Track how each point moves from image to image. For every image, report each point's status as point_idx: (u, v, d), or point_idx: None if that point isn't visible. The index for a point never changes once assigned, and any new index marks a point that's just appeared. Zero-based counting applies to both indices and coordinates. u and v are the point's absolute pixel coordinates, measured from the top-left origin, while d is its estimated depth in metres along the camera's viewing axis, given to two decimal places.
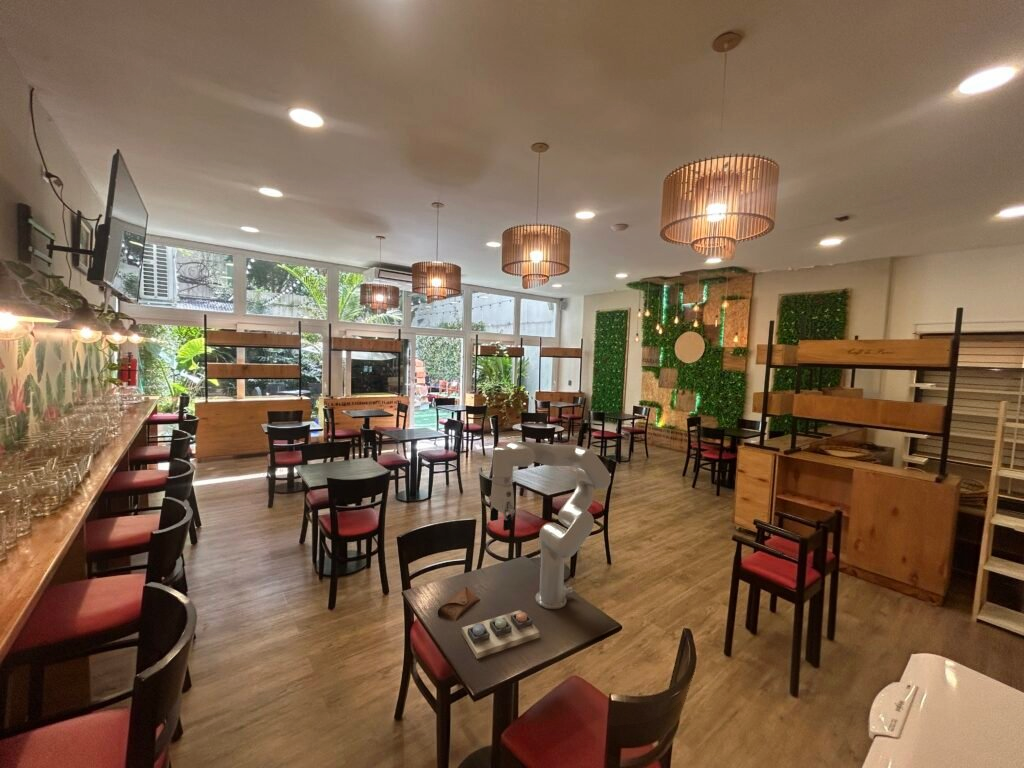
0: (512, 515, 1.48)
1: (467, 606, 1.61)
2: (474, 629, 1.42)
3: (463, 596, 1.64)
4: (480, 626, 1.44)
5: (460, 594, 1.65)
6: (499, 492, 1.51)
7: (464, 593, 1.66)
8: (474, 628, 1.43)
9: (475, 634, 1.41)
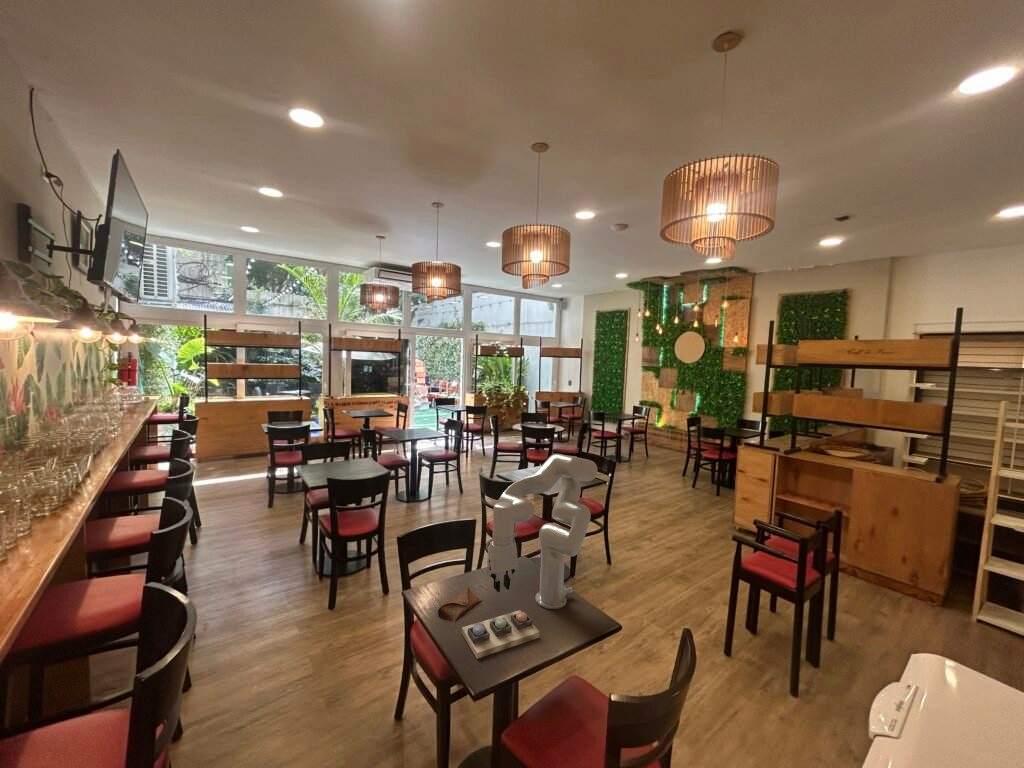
0: None
1: (468, 607, 1.61)
2: (474, 629, 1.42)
3: (464, 597, 1.64)
4: (480, 626, 1.44)
5: (461, 595, 1.65)
6: (511, 550, 1.44)
7: (466, 594, 1.66)
8: (474, 628, 1.43)
9: (475, 634, 1.41)
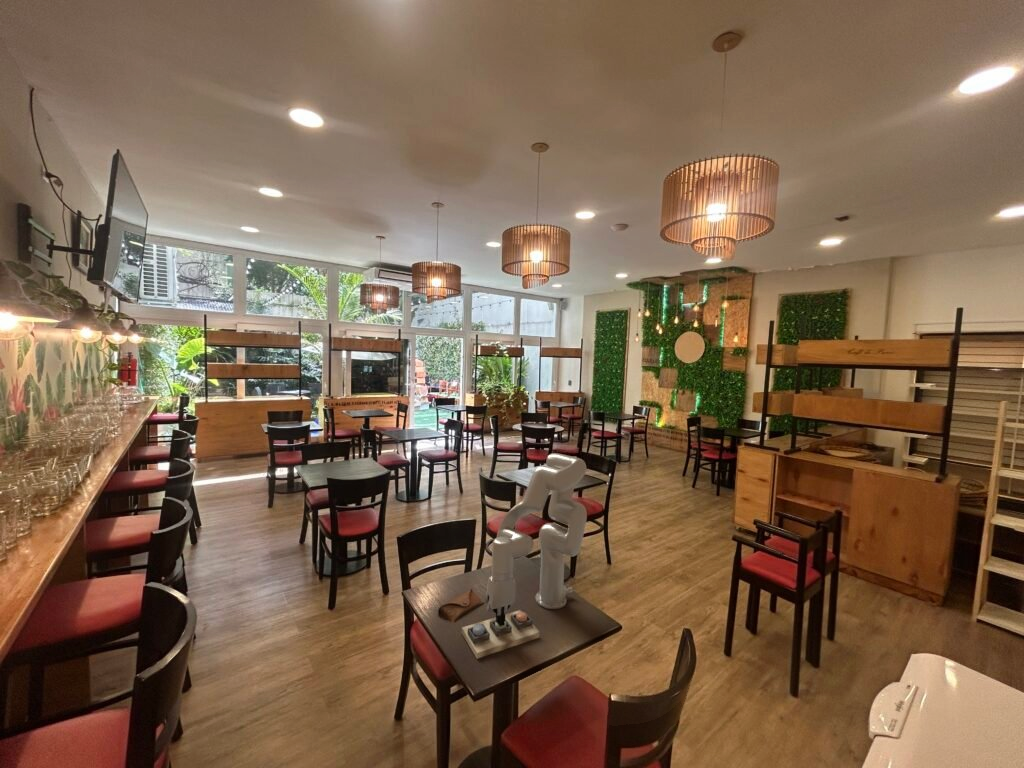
0: None
1: (468, 608, 1.60)
2: (474, 629, 1.42)
3: (465, 598, 1.63)
4: (480, 626, 1.44)
5: (463, 595, 1.64)
6: (510, 585, 1.45)
7: (467, 595, 1.65)
8: (474, 628, 1.43)
9: (475, 634, 1.41)
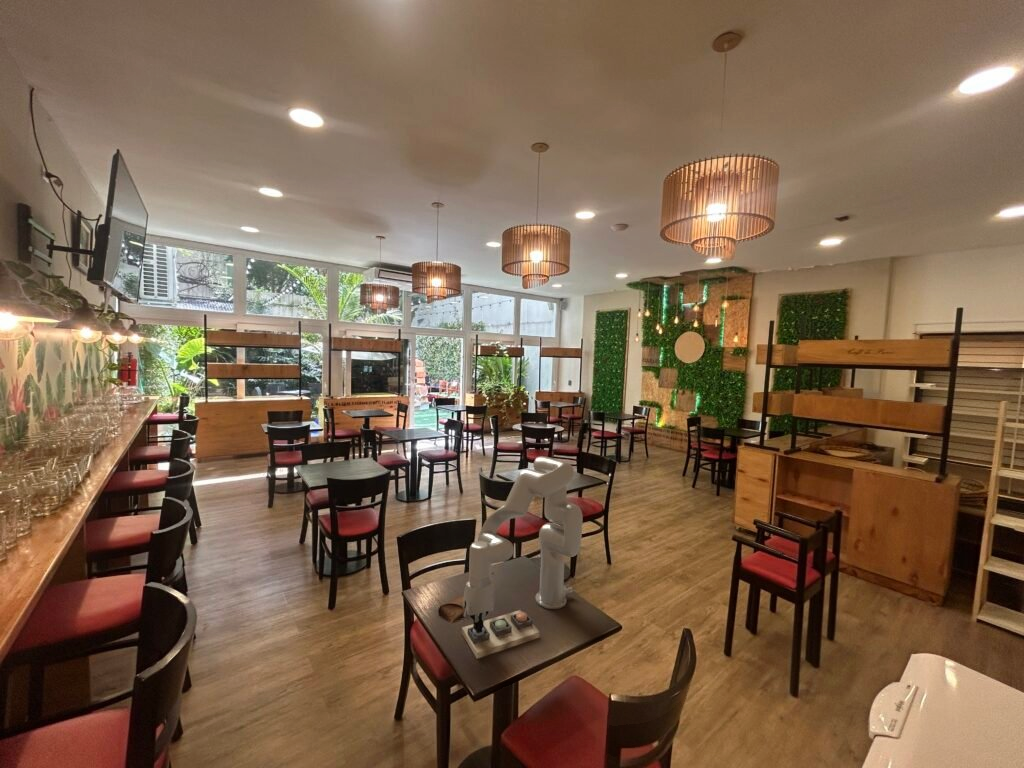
0: None
1: None
2: (474, 630, 1.42)
3: None
4: None
5: None
6: (488, 591, 1.41)
7: None
8: None
9: (475, 635, 1.41)
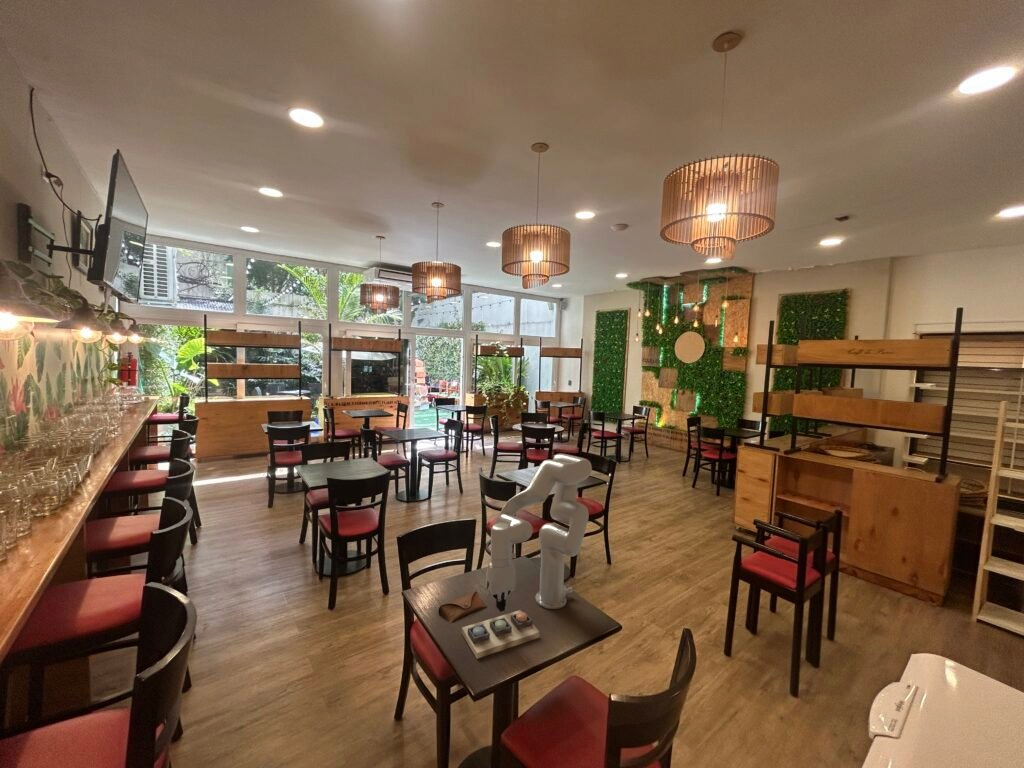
0: None
1: (469, 611, 1.58)
2: (474, 631, 1.42)
3: (467, 600, 1.62)
4: (480, 628, 1.44)
5: (466, 597, 1.63)
6: (510, 571, 1.44)
7: (470, 597, 1.63)
8: (474, 630, 1.43)
9: (475, 636, 1.41)
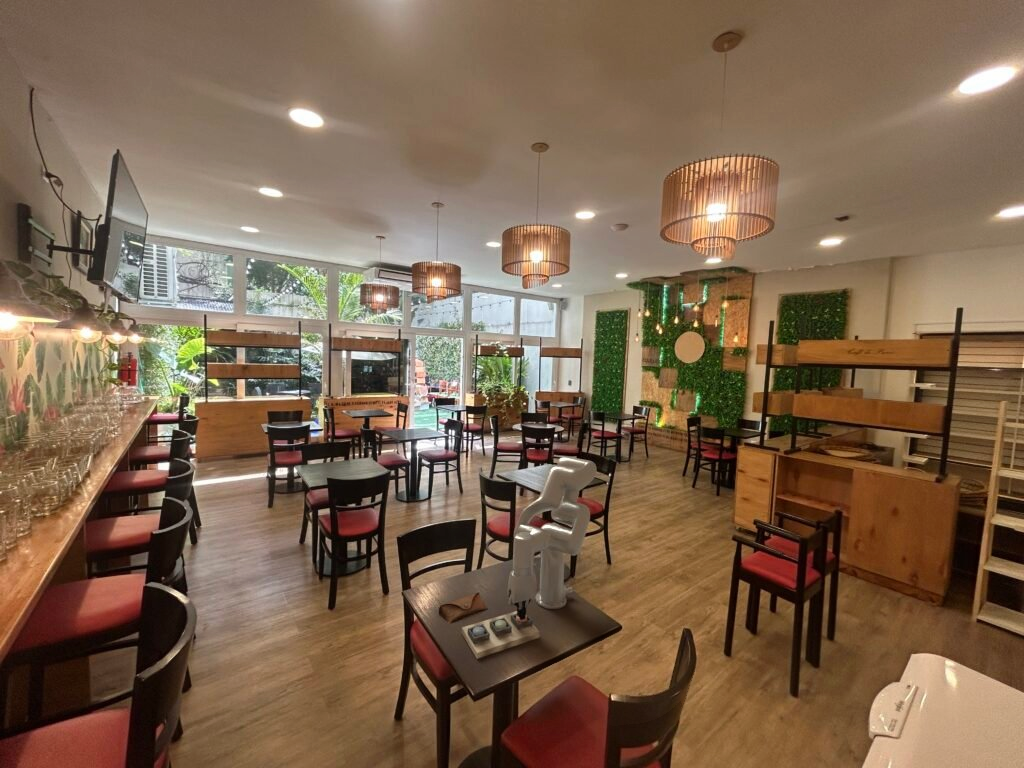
0: None
1: (468, 612, 1.58)
2: (474, 631, 1.42)
3: (468, 601, 1.61)
4: (480, 628, 1.44)
5: (467, 598, 1.63)
6: (531, 580, 1.49)
7: (471, 598, 1.63)
8: (474, 630, 1.43)
9: (475, 636, 1.41)
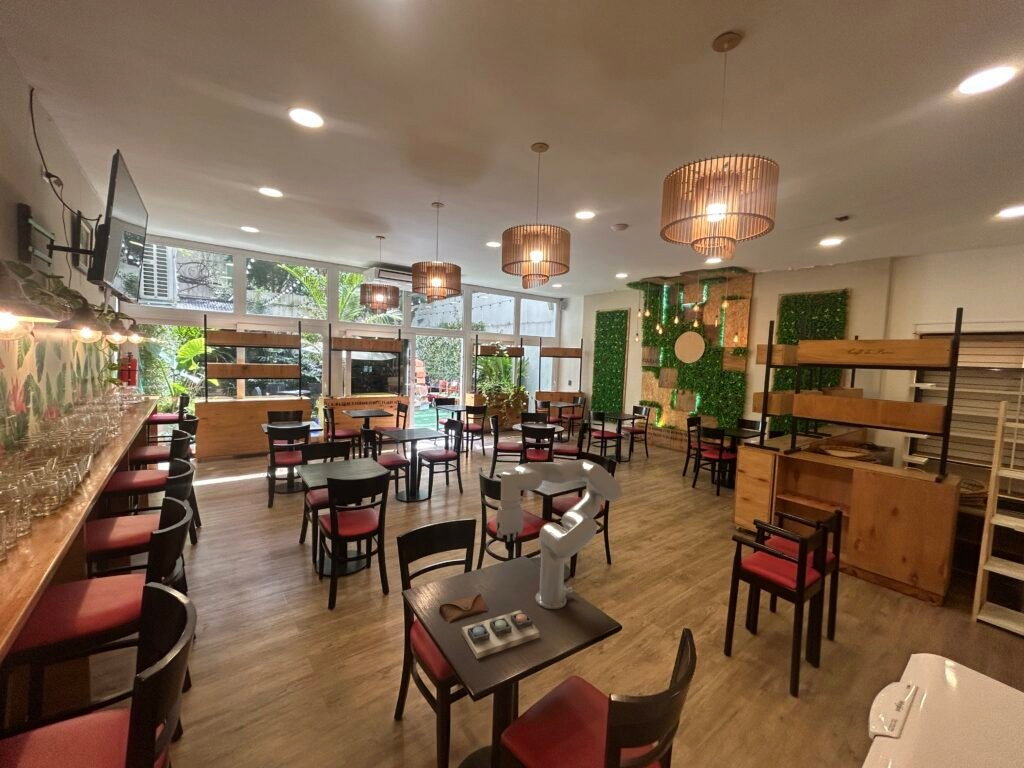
0: None
1: (468, 613, 1.57)
2: (474, 631, 1.42)
3: (468, 602, 1.60)
4: (480, 628, 1.44)
5: (468, 599, 1.62)
6: (518, 513, 1.57)
7: (472, 599, 1.62)
8: (474, 630, 1.43)
9: (475, 636, 1.41)
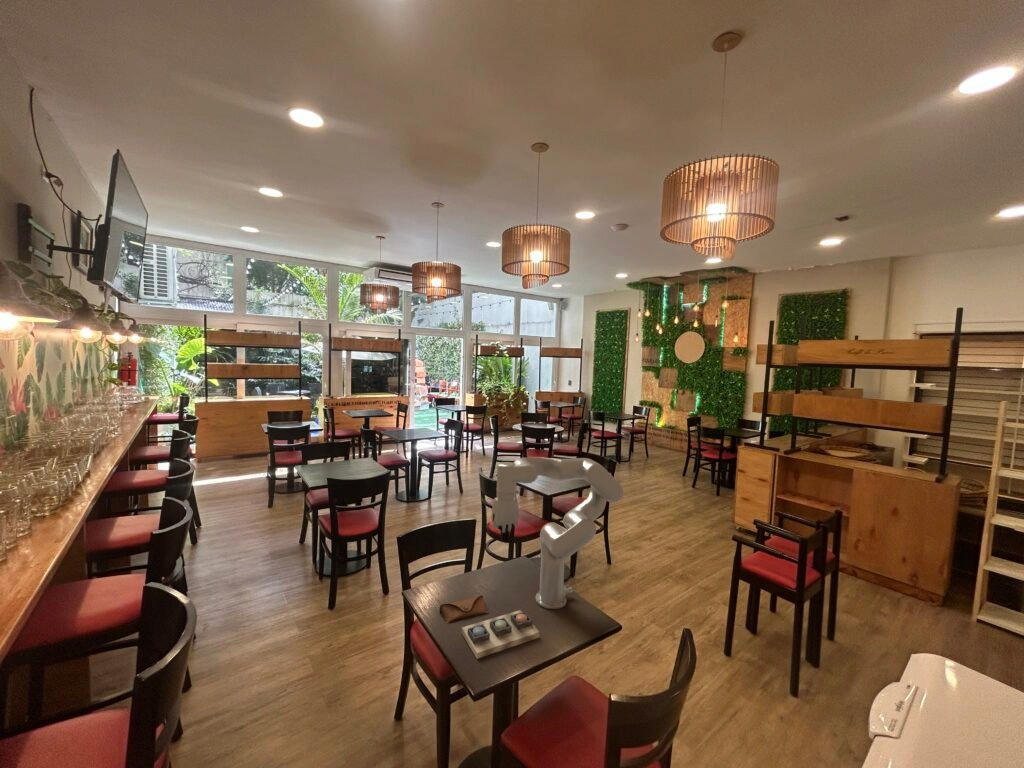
0: None
1: (468, 614, 1.56)
2: (474, 631, 1.42)
3: (469, 603, 1.60)
4: (480, 628, 1.44)
5: (468, 600, 1.61)
6: (514, 505, 1.59)
7: (473, 600, 1.61)
8: (474, 630, 1.43)
9: (475, 636, 1.41)
